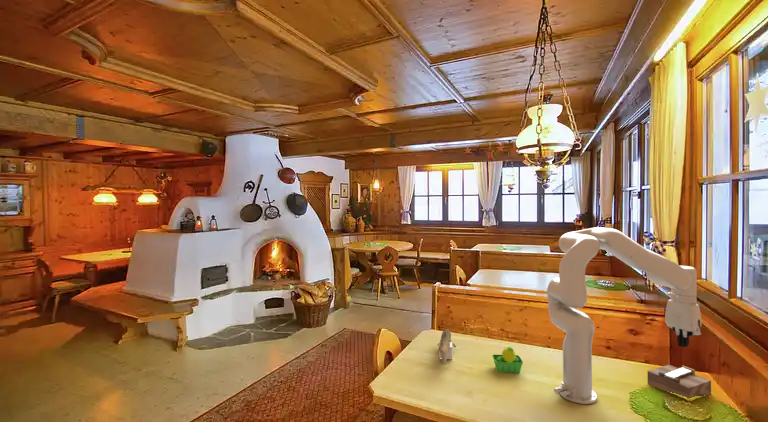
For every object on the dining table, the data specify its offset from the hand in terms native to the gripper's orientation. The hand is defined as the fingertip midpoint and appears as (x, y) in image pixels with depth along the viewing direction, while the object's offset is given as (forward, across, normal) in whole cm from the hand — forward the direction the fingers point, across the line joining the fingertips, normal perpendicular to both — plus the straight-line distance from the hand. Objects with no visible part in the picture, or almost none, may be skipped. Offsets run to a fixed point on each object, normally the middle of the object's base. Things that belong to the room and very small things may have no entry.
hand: (683, 346), depth 136 cm
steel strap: (+10, 0, -3) cm, 11 cm away
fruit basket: (+17, -38, -51) cm, 66 cm away
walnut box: (+16, 0, -3) cm, 16 cm away
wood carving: (+17, -59, -69) cm, 92 cm away
